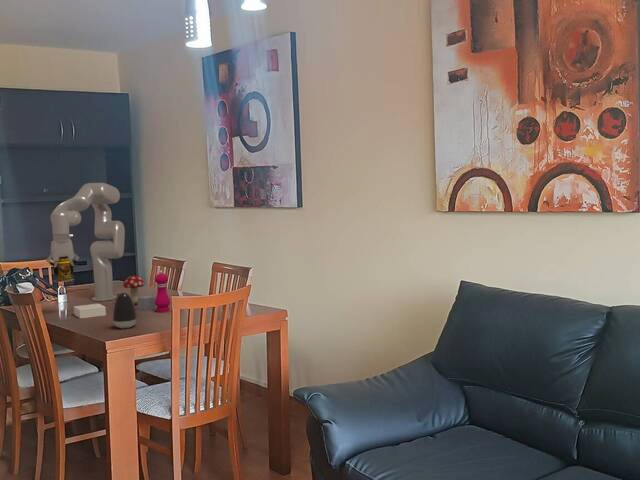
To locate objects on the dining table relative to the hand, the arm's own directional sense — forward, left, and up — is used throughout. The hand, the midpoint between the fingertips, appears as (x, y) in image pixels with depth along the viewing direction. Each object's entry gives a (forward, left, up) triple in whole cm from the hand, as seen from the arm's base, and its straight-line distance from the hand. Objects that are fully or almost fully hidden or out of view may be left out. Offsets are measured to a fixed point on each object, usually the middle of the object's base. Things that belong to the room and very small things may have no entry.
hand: (63, 274), depth 349 cm
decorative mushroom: (-2, +34, -20) cm, 40 cm away
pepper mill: (+26, +39, -20) cm, 51 cm away
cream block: (+11, +8, -19) cm, 24 cm away
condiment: (0, 0, -3) cm, 3 cm away
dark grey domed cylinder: (+51, +13, -20) cm, 57 cm away
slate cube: (+14, +35, -19) cm, 43 cm away
